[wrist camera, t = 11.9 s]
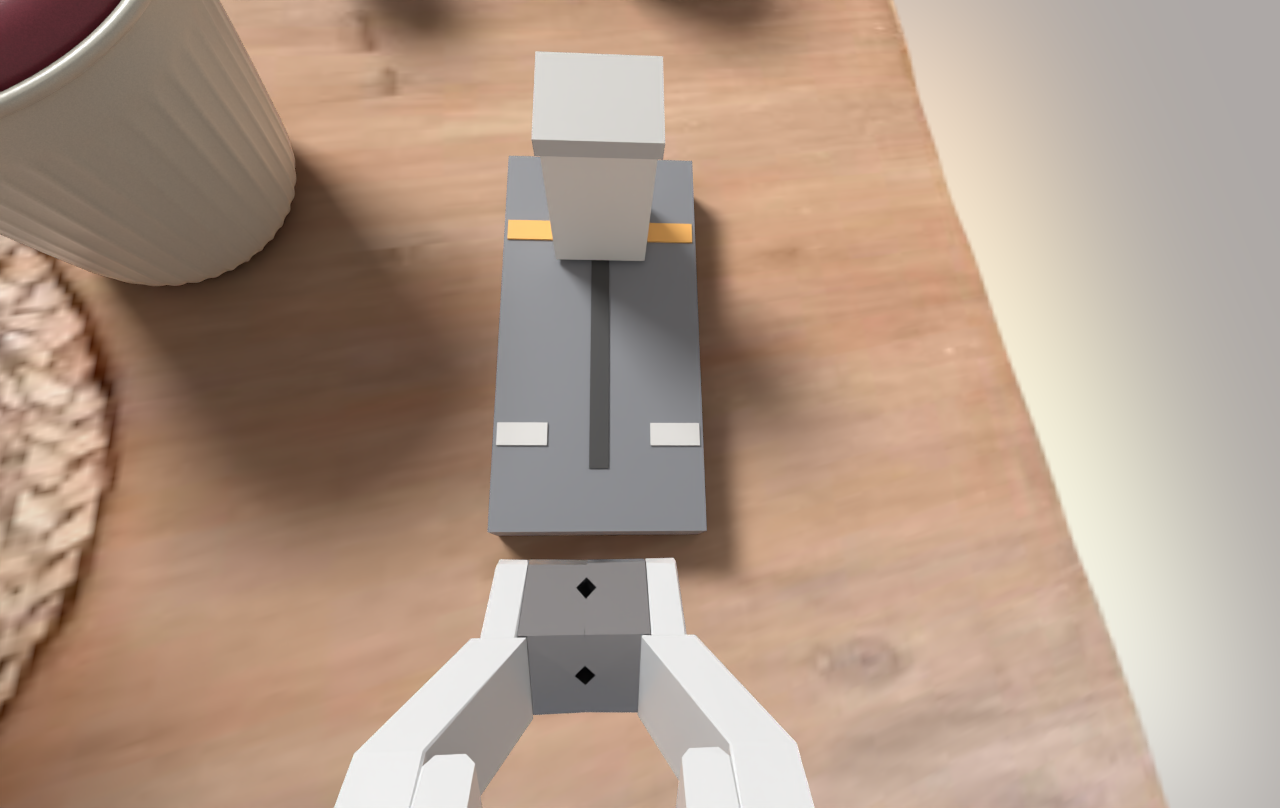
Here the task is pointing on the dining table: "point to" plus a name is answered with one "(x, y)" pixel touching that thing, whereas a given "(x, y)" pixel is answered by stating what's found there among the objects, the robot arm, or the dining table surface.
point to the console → (598, 375)
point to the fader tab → (598, 150)
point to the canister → (137, 139)
